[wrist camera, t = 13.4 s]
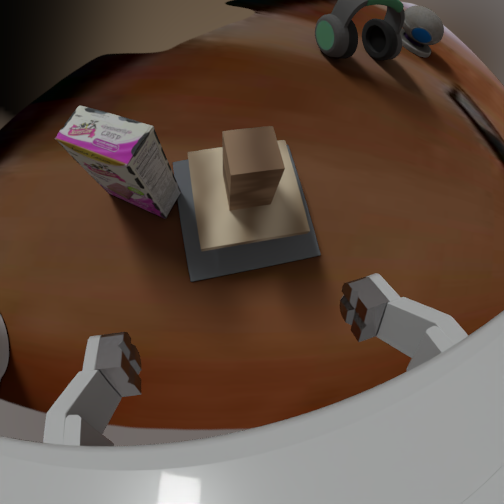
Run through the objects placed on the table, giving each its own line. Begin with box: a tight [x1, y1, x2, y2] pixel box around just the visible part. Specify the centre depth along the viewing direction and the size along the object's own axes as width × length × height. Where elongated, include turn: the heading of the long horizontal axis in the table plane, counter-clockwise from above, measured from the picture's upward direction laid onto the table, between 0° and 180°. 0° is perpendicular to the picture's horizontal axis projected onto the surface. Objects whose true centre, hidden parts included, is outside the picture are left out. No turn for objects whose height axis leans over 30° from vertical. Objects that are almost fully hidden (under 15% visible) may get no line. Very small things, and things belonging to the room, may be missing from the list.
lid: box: [188, 126, 310, 251], centre depth 31 cm, size 13×13×10 cm
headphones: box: [315, 0, 405, 60], centre depth 42 cm, size 19×11×20 cm, turn 109°
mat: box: [173, 145, 321, 282], centre depth 40 cm, size 18×18×1 cm
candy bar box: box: [55, 106, 181, 219], centre depth 31 cm, size 11×5×16 cm, turn 66°
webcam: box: [400, 6, 444, 57], centre depth 50 cm, size 13×13×15 cm
